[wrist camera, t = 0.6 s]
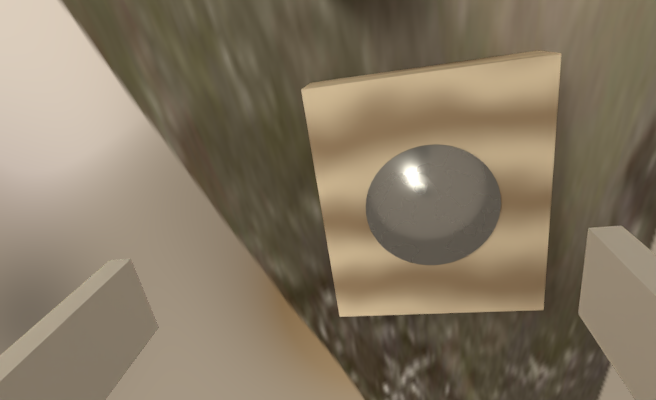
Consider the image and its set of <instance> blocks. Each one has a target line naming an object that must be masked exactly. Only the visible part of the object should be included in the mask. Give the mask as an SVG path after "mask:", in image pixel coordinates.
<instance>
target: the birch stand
mask: <svg viewBox="0 0 656 400" xmlns="http://www.w3.org/2000/svg"><path fill="white" fill-rule="evenodd" d="M560 66H561V53H555V52H547V51H540V50H538V51H531V52H524V53H517V54H510V55H503V56H496V57H489V58H482V59H475V60H468V61H460V62H453V63H446V64H439V65H432V66H425V67H418V68H411V69H404V70H397V71H390V72H383V73H376V74H369V75H362V76H355V77H348V78H341V79H334V80H327V81H320V82H312V83H310V84H308V85H307V86H306V87H304V88H303V89H301V91H302V97H303V103H304V109H305V115H306V121H307V127H308V133H309V139H310V145H311V150H312V156H313V162H314V168H315V174H316V180H317V186H318V192H319V198H320V203H321V209H322V215H323V221H324V227H325V233H326V239H327V245H328V251H329V257H330V262H331V268H332V274H333V280H334V286H335V292H336V298H337V304H338V310H339V316H340V317H345V316H376V315H406V314H437V313H468V312H498V311H529V310H544V297H545V282H546V268H547V253H548V239H549V225H550V210H551V196H552V181H553V167H554V153H555V138H556V124H557V110H558V95H559V81H560Z"/></svg>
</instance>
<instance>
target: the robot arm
mask: <svg viewBox="0 0 656 400" xmlns="http://www.w3.org/2000/svg"><path fill="white" fill-rule="evenodd" d="M578 314H579V316H580V317H581V319H582V320H583V322H584V323H585V325H586V326H587V328H588V329H589V331H590V332H591V334H592V335H593V337H594V338H595V340H596V342H597V343H598V345H599V346H600V348H601V349H602V351H603V352H604V354H605V355H606V357H607V358H608V360H609V361H610V363H611V364H612V366H613V367H614V369H615V370H616V371H617V373H618V375H619V376H620V378H621V379H622V381H623V382H624V384H625V385H626V387H627V388H628V390H629V391H630V393H631V394H632V396H633V397H634V399H635V400H656V255H655V254H654V253H653V252H652V251H651V250H649V249H648V248H647V247H646V246H645V245H644V244H642V243H641V242H640V241H639V240H638V239H637V238H636V237H634V236H633V235H632V234H631V233H630V232H629V231H627V230H626V229H625V228H624V227H623V226H608V227H593V228H588V235H587V243H586V252H585V260H584V269H583V277H582V286H581V294H580V303H579V311H578ZM158 328H159V327H158V324H157V322H156V319H155V317H154V314H153V312H152V310H151V307H150V305H149V302H148V300H147V297H146V295H145V292H144V290H143V287H142V285H141V282H140V280H139V277H138V275H137V273H136V270H135V268H134V265H133V263H132V260H131V259H122V260H109V261H108V262H107V263H106V264H105V265H104V266H102V267H101V268H100V269H99V270H98V271H97V272H96V273H94V274H93V275H92V276H91V277H90V278H89V279H88V280H86V281H85V282H84V283H83V284H82V285H81V286H79V287H78V288H77V289H76V290H75V291H74V292H73V293H71V294H70V295H69V296H68V297H67V298H66V299H65V300H63V301H62V302H61V303H60V304H59V305H58V306H56V307H55V308H54V309H53V310H52V311H51V312H49V313H48V314H47V315H46V316H45V317H44V318H43V319H41V320H40V321H39V322H38V323H37V324H36V325H35V326H34V327H32V328H31V329H30V330H29V331H28V332H27V333H25V334H24V335H23V336H22V337H21V338H20V339H18V340H17V341H16V342H15V343H14V344H13V345H12V346H10V347H9V348H8V349H7V350H6V351H5V352H3V353H2V354H1V355H0V400H106V398H107V397H108V396H109V394H110V393H111V392H112V390H113V389H114V387H115V386H116V385H117V383H118V382H119V381H120V379H121V378H122V377H123V375H124V374H125V373H126V371H127V370H128V368H129V367H130V366H131V364H132V363H133V362H134V360H135V359H136V358H137V356H138V355H139V354H140V352H141V351H142V349H143V348H144V347H145V345H146V344H147V343H148V341H149V340H150V339H151V337H152V336H153V335H154V333H155V332H156V331H157V329H158Z"/></svg>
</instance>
